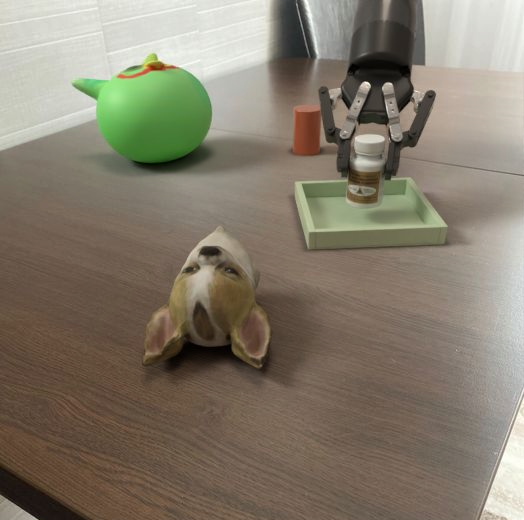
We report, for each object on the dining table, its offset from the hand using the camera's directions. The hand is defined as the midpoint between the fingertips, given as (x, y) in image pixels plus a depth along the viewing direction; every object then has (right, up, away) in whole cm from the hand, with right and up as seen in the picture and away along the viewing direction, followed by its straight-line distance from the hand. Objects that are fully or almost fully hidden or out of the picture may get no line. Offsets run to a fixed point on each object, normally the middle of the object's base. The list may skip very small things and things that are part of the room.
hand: (366, 175), depth 64 cm
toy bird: (-29, +11, +26) cm, 40 cm away
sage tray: (+1, -4, +5) cm, 7 cm away
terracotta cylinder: (-5, +12, +27) cm, 30 cm away
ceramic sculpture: (-16, -19, -14) cm, 28 cm away
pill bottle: (0, -2, +4) cm, 5 cm away
